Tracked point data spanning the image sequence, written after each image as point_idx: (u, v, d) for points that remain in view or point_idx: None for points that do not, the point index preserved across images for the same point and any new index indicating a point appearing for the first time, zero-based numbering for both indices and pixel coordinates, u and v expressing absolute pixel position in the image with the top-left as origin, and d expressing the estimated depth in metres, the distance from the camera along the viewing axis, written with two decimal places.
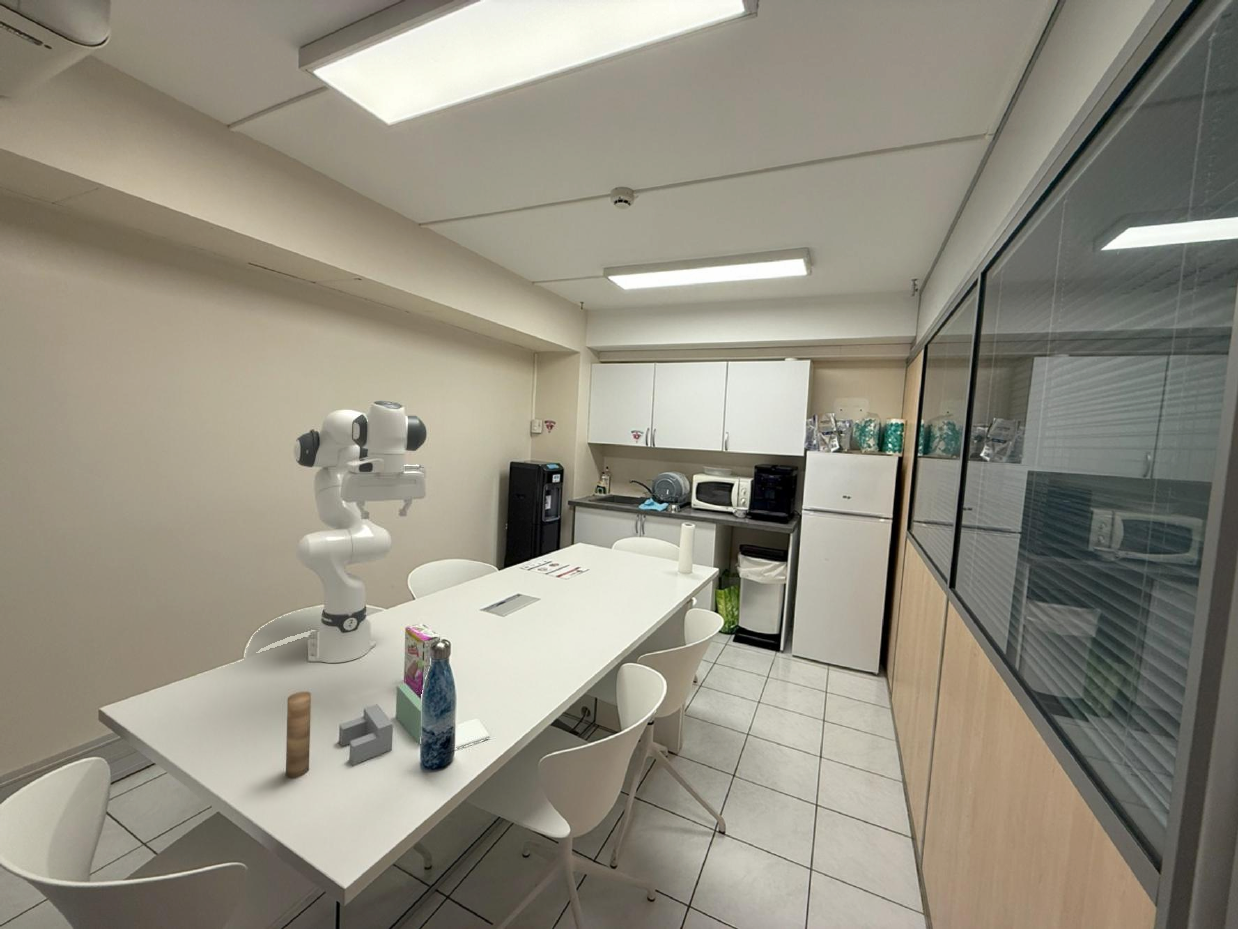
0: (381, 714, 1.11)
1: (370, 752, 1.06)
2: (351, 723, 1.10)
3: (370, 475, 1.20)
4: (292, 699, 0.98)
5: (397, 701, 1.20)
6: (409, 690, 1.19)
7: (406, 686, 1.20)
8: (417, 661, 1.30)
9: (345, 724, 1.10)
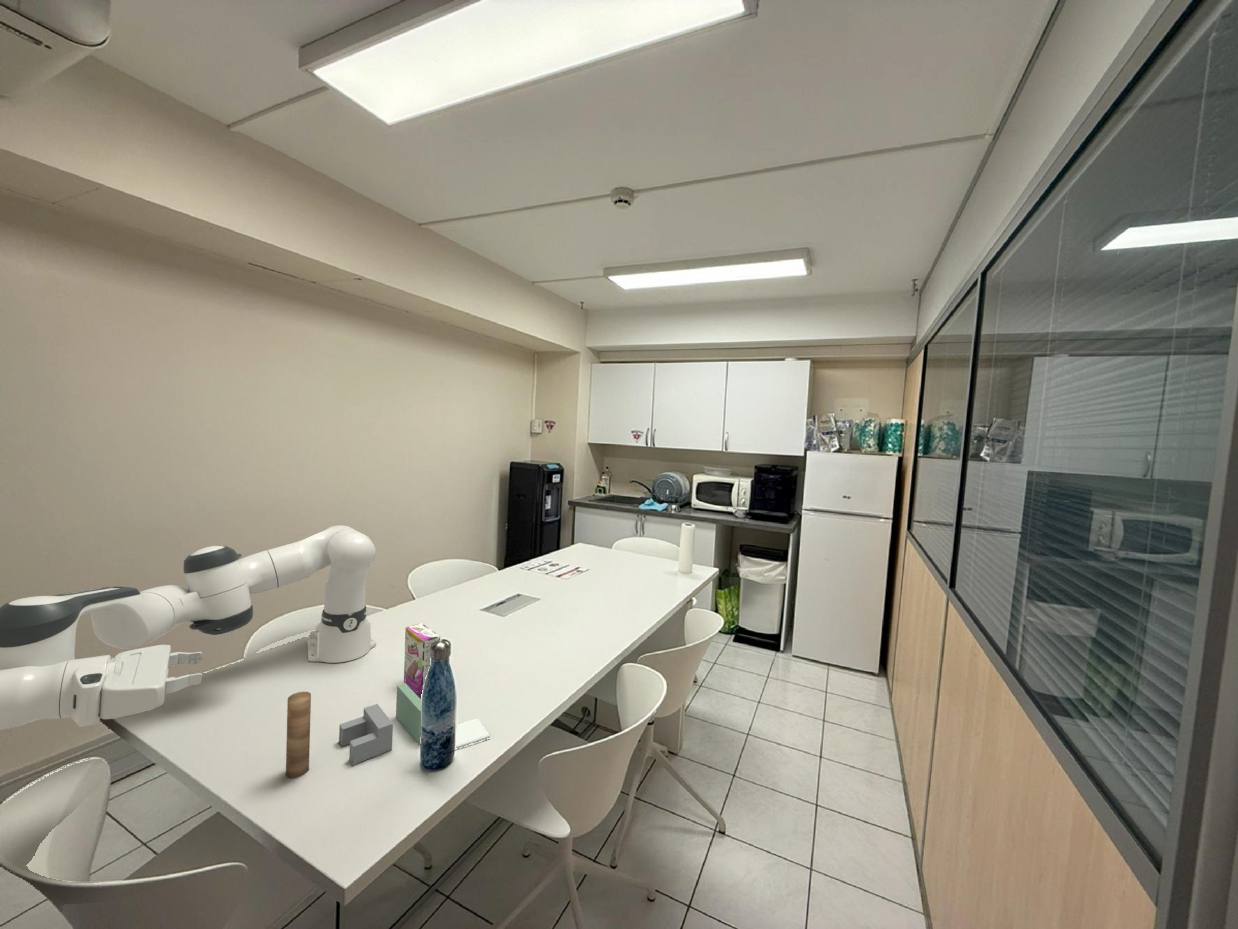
0: (381, 714, 1.11)
1: (370, 752, 1.06)
2: (351, 723, 1.10)
3: (110, 675, 0.79)
4: (292, 699, 0.98)
5: (397, 701, 1.20)
6: (409, 690, 1.19)
7: (406, 686, 1.20)
8: (417, 661, 1.30)
9: (345, 724, 1.10)
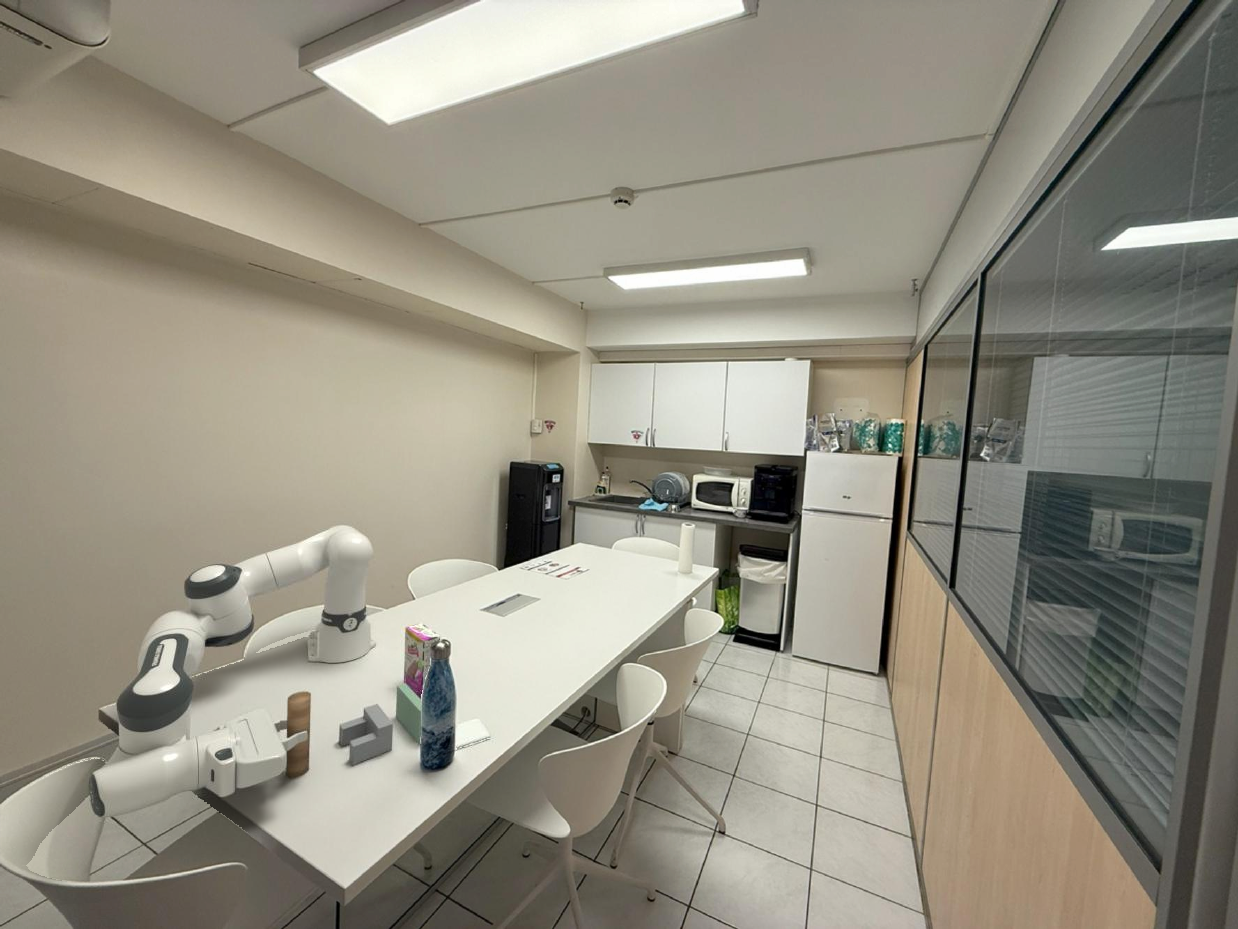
0: (381, 714, 1.11)
1: (370, 752, 1.06)
2: (351, 723, 1.10)
3: (237, 748, 0.89)
4: (292, 699, 0.98)
5: (397, 701, 1.20)
6: (409, 690, 1.19)
7: (406, 686, 1.20)
8: (417, 661, 1.30)
9: (345, 724, 1.10)
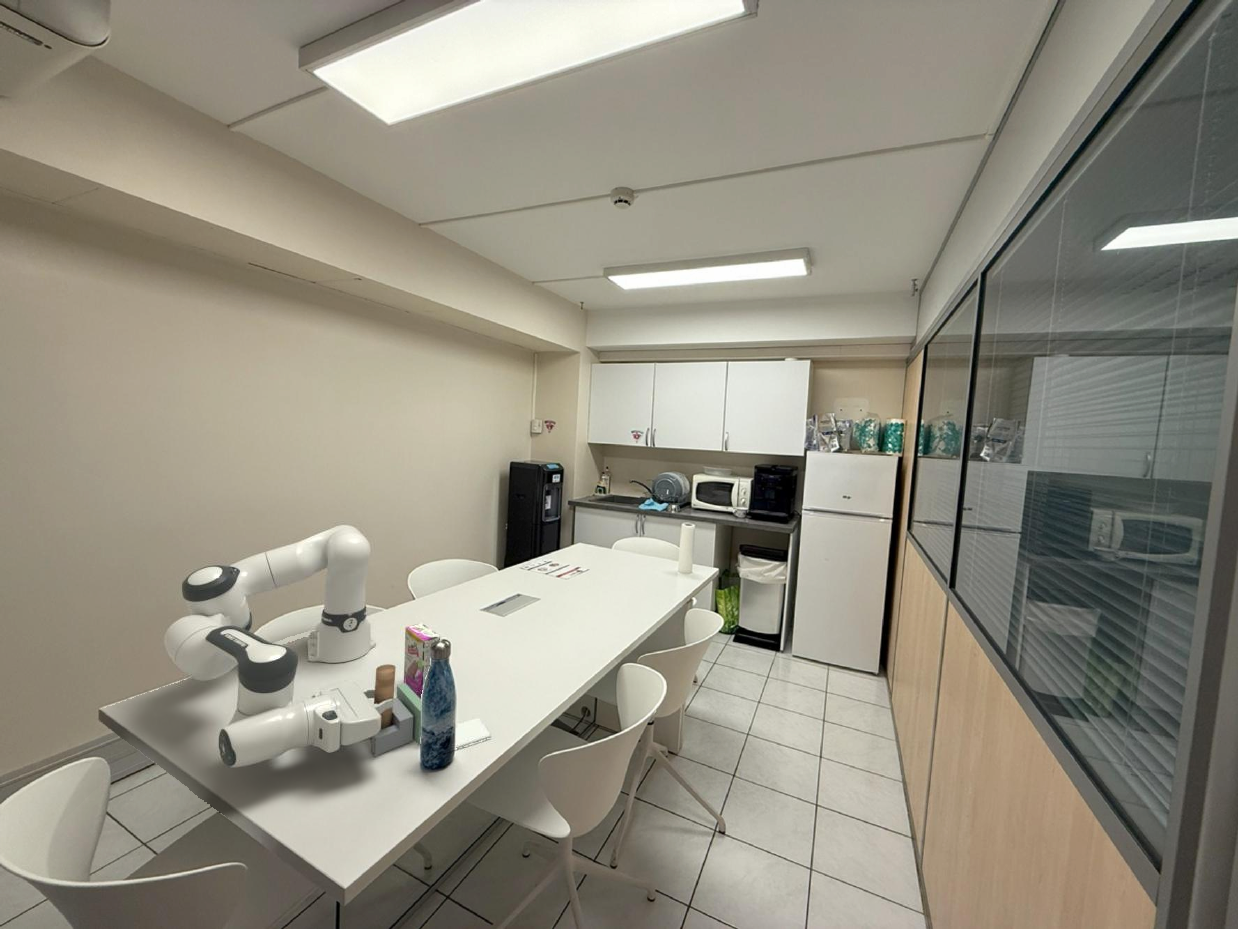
0: (401, 707, 1.15)
1: (392, 744, 1.09)
2: None
3: (339, 711, 1.01)
4: (380, 670, 1.10)
5: None
6: (409, 690, 1.19)
7: (406, 686, 1.20)
8: (417, 661, 1.30)
9: None
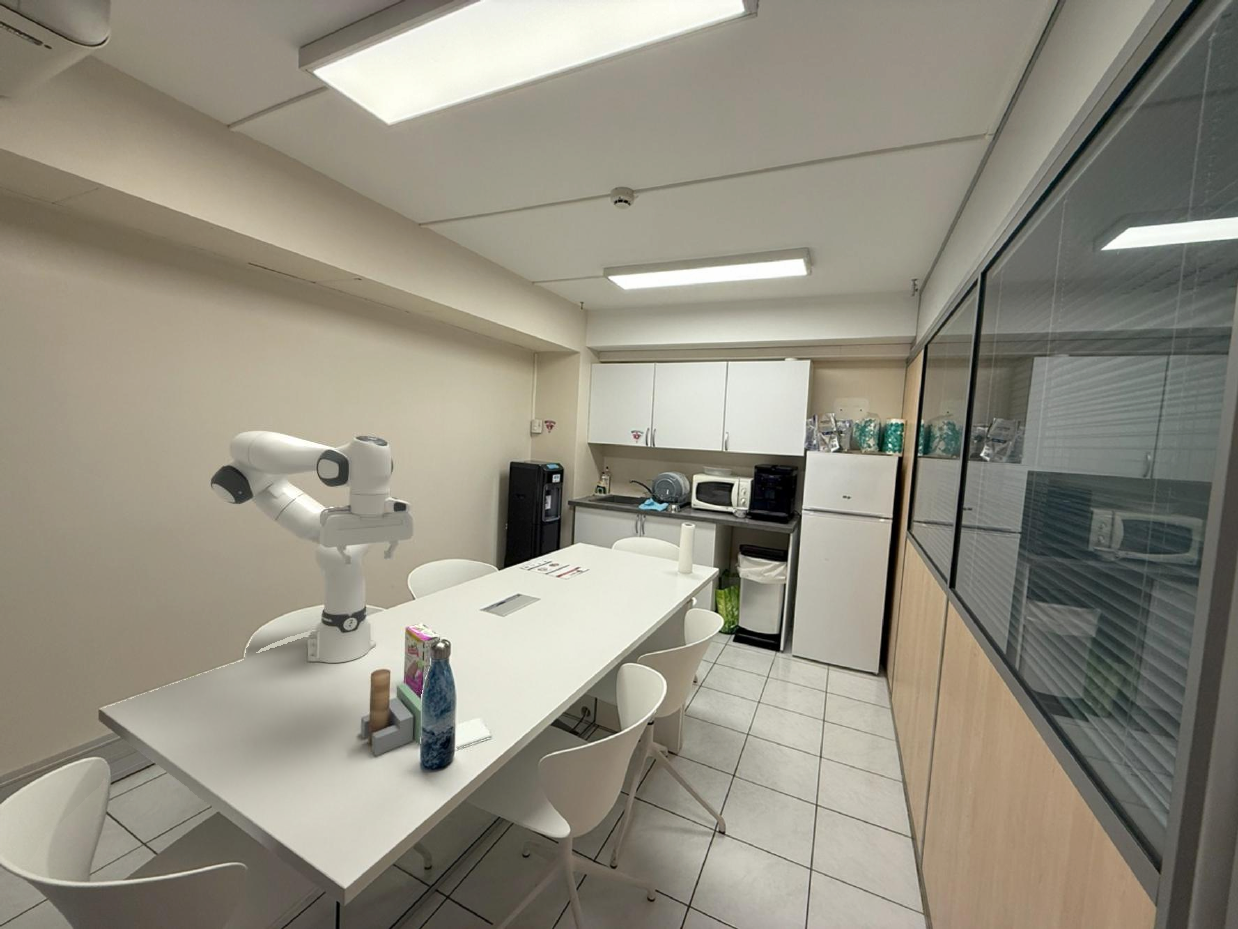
0: (401, 707, 1.15)
1: (392, 744, 1.09)
2: None
3: None
4: (375, 675, 1.09)
5: None
6: (409, 690, 1.19)
7: (406, 686, 1.20)
8: (417, 661, 1.30)
9: (367, 717, 1.13)
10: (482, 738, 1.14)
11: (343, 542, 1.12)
